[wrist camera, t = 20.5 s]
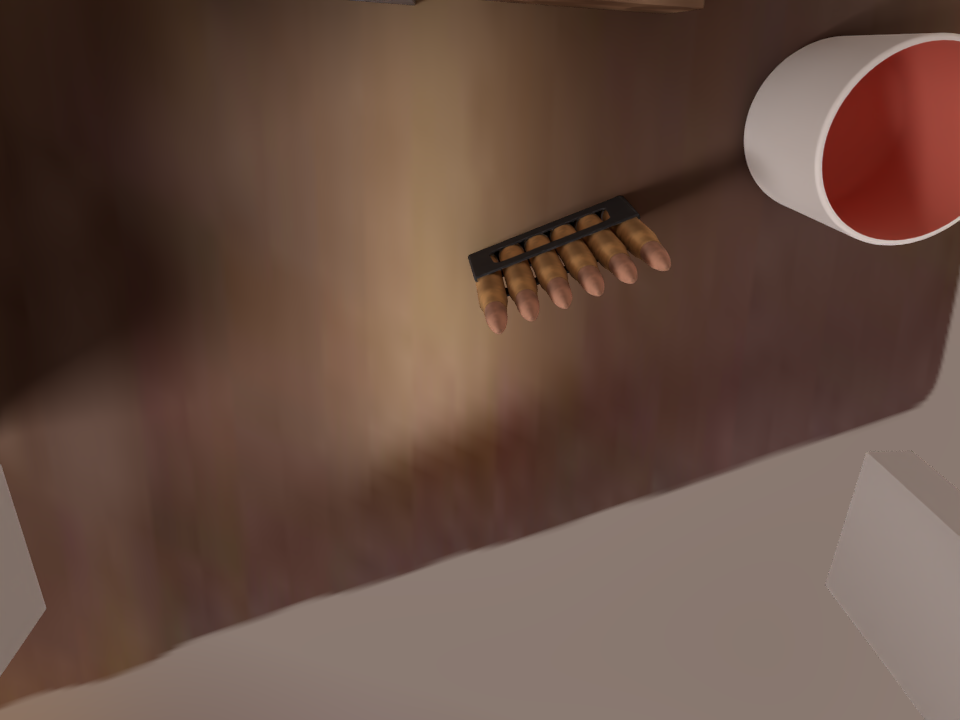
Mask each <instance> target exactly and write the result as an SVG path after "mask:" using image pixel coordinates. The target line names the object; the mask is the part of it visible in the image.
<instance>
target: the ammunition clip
mask: <svg viewBox="0 0 960 720" xmlns="http://www.w3.org/2000/svg"><path fill="white" fill-rule="evenodd" d="M639 219H640V215H639V214H638V213H637V211H636V210H635V209H634V208H633V207H632V206H631V205H630V204H629V202H628V201H627V200H626V199H625V198H624V197H623V196H617V197H615V198H612V199H610V200H607V201H605V202H602V203H600V204H597V205H594V206H592V207H589V208H587V209H584V210H582V211H579V212H577V213H574V214H572V215H569V216H567V217H564V218H562V219H559V220H556V221H554V222H551V223H549V224H546V225H544V226H541V227H539V228H536V229H534V230H531V231H529V232H526V233H524V234H521V235H518V236H516V237H513V238H511V239H508V240H506V241H503V242H501V243H498V244H496V245H493V246H491V247H488V248H486V249H483V250H480V251H478V252H475V253H473V254H470V255H469V256H468V259H469V262H470V266H471V269H472V272H473V276H474V279H475V281H476V286H477V292H478V299H479V304H480V308H481V309H482V311H483V312H484V315H485V317H486V321H487V324H488V325H489V327H490V328H491V330H492V331H494V332H495V333H497V334H500V333H502V332H503V331H504V330H505V328H506V325H507V303H508V299H507V296H510V297H511V298H512V300H513V301H514V302H515V304H516V306H517V308H518V310H519V312H520V313H521V315H522V316H523V317H524V318H525V319H527V320H528V321H535V320H536V319H537V317H538V314H539V301H538V296H537V292H538V289H537V285H538V284H540V285H541V287H542V288H543V289H544V290H545V291H546V292H547V293H548V295H549V297H550V298H551V300H552V301H553V302H554V303H555V304H556V305H557V306H559V307H560V308H563V309H566V308H568V307H569V306H570V305H571V301H572V294H571V289H570V286H569V283H568V276H567V273H570V275H571V276H572V277H573V278H574V279H575V280H577V281H578V282H579V284H581V286H582V287H583V288H584V289H585V290H586V291H587V292H588V293H589V294H591V295H594V296H601V295H602V294H603V292H604V281H603V277H602V275H601V274H600V271H599V269H598V266H597V262H599V263H600V264H601V265H602V266H603V267H604V268H605V269H608V270H609V271H610V272H611V273H613V275H614V276H615V277H617V278H618V279H619V280H621V281H622V282H625V283H629V284H632V283H634V282H636V280H637V270H636V267H635V265H634V263H633V261H632V260H631V258H630V257H629V255H628V252H627V250H628V251H629V252H630V253H631V254H633V255H634V256H635V257H637V258H640V259H642V260H643V261H644V262H645V263H647V264H648V265H649V266H650V267H652V268H654V269H657V270H660V271H667V270H669V269H670V267H671V261H670V257H669V255H668V253H667V251H666V250H665V248H664V247H663V246H662V245H661V243H660V242H659V241H658V238H657V236H656V235H655V233H654V232H652V231H651V230H650V229H649V228H648V227H647V226H646V225H645V224H644V223H642V222H641V221H640V220H639ZM588 248H589V249H588ZM590 251H591V252H592V253H591V252H590ZM592 254H593V255H592ZM558 255H559V256H560V258H561V259H562V261H563V263H564V265H565V266H563V264H562V263H561V261H560V259H559V257H558ZM530 266H532V267H533V270H534V272H535V274H536V278H534V276H533V273H532V270H531V268H530ZM502 277H505V281H506V284H507V288H505V286H504V282H503V278H502Z"/></svg>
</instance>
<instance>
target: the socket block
mask: <svg viewBox="0 0 960 720" xmlns="http://www.w3.org/2000/svg"><path fill="white" fill-rule="evenodd" d="M352 1H365V2H379V3H392V4H406V5H415V0H352Z"/></svg>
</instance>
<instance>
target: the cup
mask: <svg viewBox="0 0 960 720" xmlns="http://www.w3.org/2000/svg"><path fill="white" fill-rule="evenodd" d="M744 151H745V157H746V161H747V165H748V168H749V170H750V173H751V175H752V177H753V178H754V180H755V182H756V183H757V184H758V186H759V187H760V188H761V189H762V191H763V192H764V193H766V194H767V195H768V196H769V197H770V198H772V199H773V200H775V201H776V202H778V203H780V204H782V205H784V206H786V207H788V208H790V209H793V210H795V211H797V212H799V213H801V214H804V215H806V216H808V217H810V218H812V219H814V220H817V221H819V222H821V223H823V224H825V225H827V226H830V227H832V228H834V229H836V230H838V231H840V232H843V233H845V234H847V235H849V236H851V237H853V238H856V239H858V240H861V241H864V242H867V243H871V244H877V245H901V244H907V243H912V242H916V241H919V240H923V239H926V238H928V237H931V236H933V235H935V234H937V233H939V232H941V231H943V230H945V229H947V228H949V227H950V226H952V225H953V224H955V223H956V222H958V221H959V220H960V34H955V33H920V34H889V35H857V36H837V37H831V38H826V39H822V40H819V41H816V42H814V43H811V44H809V45H807V46H805V47H803V48H801V49H800V50H798V51H796V52H795V53H793V54H792V55H790V56H789V57H787V58H786V59H785V60H784V61H783V62H781V63H780V64H779V65H778V66H777V67H776V68H775V69H774V70H773V71H772V72H771V73H770V75H769V76H768V77H767V78H766V80H765V81H764V82H763V84H762V85H761V87H760V88H759V90H758V92H757V94H756V96H755V98H754V100H753V102H752V104H751V107H750V109H749V112H748V116H747V119H746V124H745V130H744Z"/></svg>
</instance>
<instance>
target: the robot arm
mask: <svg viewBox="0 0 960 720" xmlns="http://www.w3.org/2000/svg"><path fill="white" fill-rule="evenodd" d="M825 586H826V587H827V588H828V590H829V591H830V592H831V594H832V595H833V596H834V598H835V599H836V600H837V602H838V603H839V604H840V606H841V607H842V609H843V610H844V611H845V613H846V614H847V615H848V617H849V618H850V619H851V621H853V623H854V625H855V626H856V627H857V629H858V630H859V631H860V633H861V634H862V635H863V637H864V638H865V639H866V641H867V642H868V644H869V645H870V646H871V648H872V649H873V650H874V652H875V653H876V654H877V655H878V657H879V658H880V660H881V661H882V662H883V664H884V665H885V666H886V668H887V669H888V670H889V672H890V673H891V675H892V676H893V677H894V679H895V680H896V681H897V683H898V684H899V685H900V687H901V688H902V689H903V691H904V692H905V693H906V695H907V696H908V697H909V699H910V700H911V702H912V703H913V704H914V705H915V707H916V708H917V710H918V711H919V712H920V714H921V715H922V716H923V718H924V719H925V720H960V490H959V489H958V488H956V487H955V486H954V485H953V484H951V483H950V482H949V481H948V480H947V479H945V478H944V477H943V476H942V475H941V474H939V473H938V472H937V471H936V470H935V469H933V468H932V467H931V466H930V465H928V464H927V463H926V462H925V461H924V460H923V459H921V458H920V457H919V456H918V455H917V454H915V453H914V452H913V451H881V452H880V451H877V452H875V451H873V452H866V455H865V459H864V462H863V465H862V468H861V471H860V474H859V478H858V481H857V484H856V487H855V490H854V494H853V497H852V500H851V503H850V506H849V510H848V513H847V516H846V519H845V522H844V526H843V529H842V532H841V535H840V538H839V542H838V545H837V548H836V551H835V554H834V558H833V561H832V564H831V567H830V570H829V573H828V577H827V580H826V583H825ZM45 610H46V606H45V603H44V599H43V596H42V593H41V590H40V587H39V584H38V580H37V577H36V574H35V571H34V568H33V565H32V561H31V558H30V555H29V552H28V549H27V546H26V542H25V539H24V536H23V533H22V530H21V527H20V523H19V520H18V517H17V514H16V511H15V508H14V504H13V501H12V498H11V495H10V492H9V489H8V485H7V482H6V479H5V476H4V473H3V469H2V466H1V464H0V676H1V674H2V673H3V671H4V670H5V669H6V667H7V666H8V664H9V663H10V661H11V660H12V658H13V657H14V655H15V654H16V652H17V651H18V649H19V648H20V646H21V645H22V644H23V642H24V641H25V639H26V638H27V636H28V635H29V633H30V632H31V630H32V629H33V627H34V626H35V624H36V623H37V621H38V620H39V619H40V617H41V616H42V614H43V613H44V611H45Z"/></svg>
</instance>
